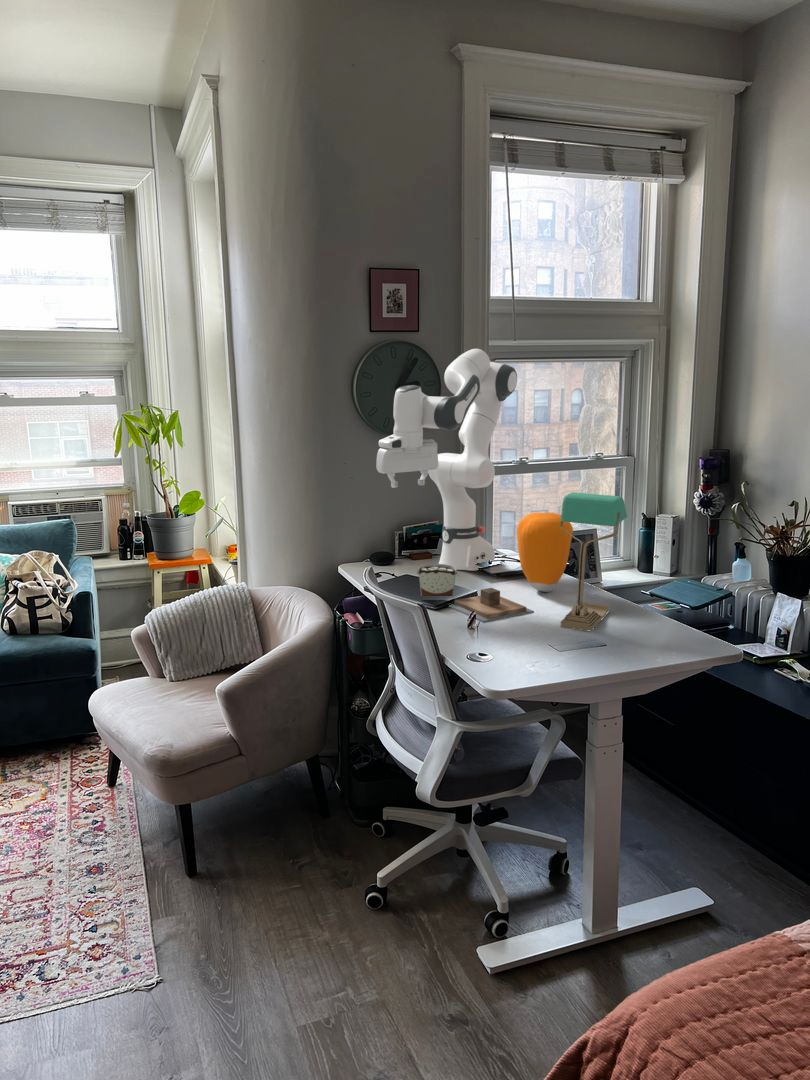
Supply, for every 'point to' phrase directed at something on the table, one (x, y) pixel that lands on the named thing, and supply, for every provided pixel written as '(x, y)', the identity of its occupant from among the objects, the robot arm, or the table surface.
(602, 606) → the banker's lamp
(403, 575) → the table surface
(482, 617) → the charcoal mat
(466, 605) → the walnut cover
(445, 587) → the food container
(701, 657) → the table surface
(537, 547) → the orange tapered rounded form
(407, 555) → the table surface
